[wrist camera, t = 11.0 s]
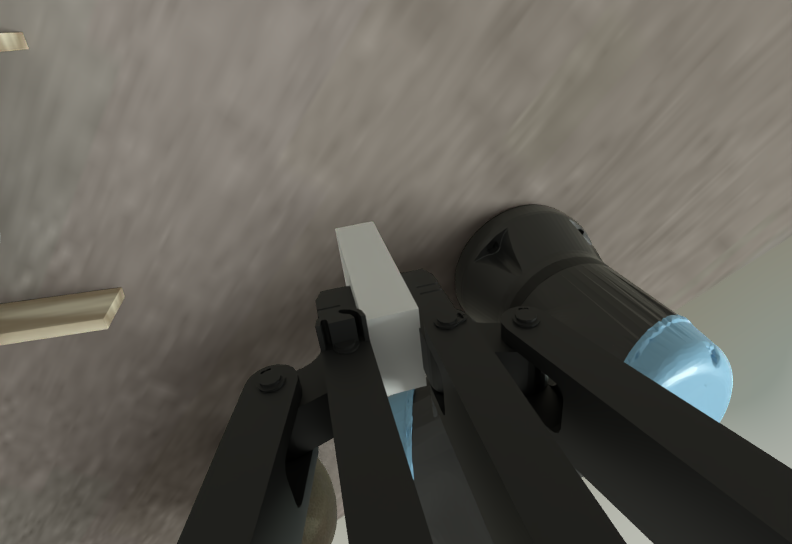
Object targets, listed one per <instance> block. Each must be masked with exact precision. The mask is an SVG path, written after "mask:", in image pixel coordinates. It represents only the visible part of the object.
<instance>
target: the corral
mask: <svg viewBox="0 0 792 544" xmlns="http://www.w3.org/2000/svg"><path fill="white" fill-rule="evenodd" d="M24 49H29V48H28V46H27V43H26V40H25V38H24V35H23V33H22V32H20V33H0V52H4V51H14V50H24ZM124 298H125V296H124V293H123V290H122V288H121V287H120V288H113V289H106V290H98V291H91V292H84V293H77V294H69V295H62V296H55V297H48V298H40V299H33V300H26V301H19V302H11V303H4V304H0V345H6V344H13V343H19V342H26V341H32V340H39V339H45V338H52V337H58V336H65V335H71V334H78V333H84V332H91V331H97V330H104V329H108V328H109V326H110V324H111V322H112V320H113V318H114V316H115V315H116V313H117V311H118V309H119V307H120V305H121V303H122V302H123V300H124Z"/></svg>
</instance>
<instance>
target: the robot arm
mask: <svg viewBox="0 0 792 544" xmlns="http://www.w3.org/2000/svg"><path fill="white" fill-rule="evenodd" d="M335 231H336V236H337V241H338V247H339V252H340V257H341V262H342V267H343V273H344V278H345V283H346V286H345V287H341V288H336V289H331V290H326V291H322V292H320V294H319V296H318V298H317V299H316V307H317V313H318V320H317V321H316V325H315V328H316V332H317V336H318V340H319V344H320V348H321V352H320V354H319V356H318V357H317V358H316V359H315V360H314V361H313V362H312V363H311V364H309V365H307V366H305V367H304V368H302V369H299V370H297V371H296V370H295V369H294V368H293V367H290V366H288V365H279V364H277V365H273V366H268V367H266V368H263V369H261V370H259V371H257V372H256V373H255V374H254V375H252V376H251V377H250V378H249V380H248V381H247V383H246V384H245V386H244V388H243V391H242V393H241V395H240V398H239V400H238V402H237V405H236V407H235V409H234V412H233V414H232V416H231V419H230V421H229V423H228V426H227V428H226V430H225V433H224V435H223V437H222V440H221V442H220V444H219V447H218V449H217V451H216V454H215V456H214V458H213V461H212V463H211V465H210V468H209V470H208V472H207V475H206V477H205V479H204V482H203V484H202V486H201V489H200V491H199V493H198V496H197V498H196V500H195V503H194V505H193V507H192V510H191V512H190V514H189V517H188V519H187V521H186V524H185V526H184V528H183V531H182V533H181V535H180V538H179V540H178V542H177V544H301V543H302V537H303V532H304V527H305V521H306V516H307V511H308V506H309V500H310V495H311V490H312V484H313V479H314V474H315V468H316V463H317V458H318V446H320V445H322V444H323V443H325V442H327V441H329V440H330V439H332V438H334V443H335V450H336V457H337V464H338V471H339V478H340V485H341V492H342V499H343V506H344V513H345V520H346V527H347V534H348V541H349V544H626V542H625V541H624V540H623V538H622V536H621V535H620V534H619V532H618V531H617V529H616V528H615V527H614V525H613V524H612V522H611V520H610V519H609V518H608V516H607V515H606V513H605V512H604V510H603V509H602V507H601V506H600V505H599V503H598V502H597V500H596V499H595V497H594V496H593V494H592V493H591V492H590V490H589V489H588V487H587V486H586V484H585V483H584V482H583V480H582V479H581V477H583V476H584V477H585V478H586V479H587V480H588V481H589V482H590V483H591V484H592V485H593V486H594V487H595V488H596V489H597V490H598V491H599V492H601V493H602V494H603V495H604V496H605V497H606V498H607V499H608V500H609V501H610V502H611V503H612V504H613V505H614V506H615V507H616V508H617V509H618V510H619V511H620V512H621V513H622V514H623V515H625V516H626V517H627V518H628V519H629V520H630V521H631V522H632V523H633V524H634V525H635V526H636V527H637V528H638V529H639V530H640V531H641V532H642V533H643V534H644V535H645V536H646V537H648V539H649V540H651V541H652V542H653V543H654V544H792V469H791V468H789V467H788V466H786V465H785V464H783V463H782V462H780V461H778V460H777V459H775V458H774V457H772V456H771V455H769V454H767V453H766V452H764V451H763V450H761V449H760V448H758V447H756V446H755V445H753V444H752V443H750V442H749V441H747V440H745V439H744V438H742V437H741V436H739V435H737V434H736V433H735V432H733V431H731V430H730V429H728V428H727V427H725V426H723V425H722V424H720V421H721V419H722V418H723V416H724V414H725V412H726V409H727V407H728V404H729V401H730V398H731V393H732V387H733V375H732V370H731V366H730V363H729V361H728V359H727V357H726V356H725V354H724V353H723V352H722V350H721V349H720V348H719V347H718V346H716V345H715V344H714V343H713V342H712V341H711V340H709V339H708V338H707V337H706V336H704V334H702V333H701V332H700V331H699V330H698V329H696V328H695V327H694V326H693V325H692V324H691V322H690V321H689V320H688V319H687V318H685V317H683V316H680V315H677V314H676V313H675V312H673V311H672V310H670V309H669V308H667V307H666V306H664V305H663V304H662V303H660V302H659V301H657V300H656V299H654V298H653V297H652V296H650V295H649V294H647V293H646V292H644V291H643V290H642V289H640V288H639V287H637V286H636V285H634V284H633V283H631V282H630V281H629V280H627V279H626V278H624V277H623V276H621V275H620V274H619V273H617V272H616V271H614V270H613V269H611V268H610V267H609V266H607V265H606V264H604V263H603V261H602V260H601V258H600V256H599V254H598V253H597V251H596V249H595V248H594V247H593V245H592V244H591V241H590V239H589V237H588V235H587V233H586V232H585V230H584V229H583V228H582V227H581V226H580V225H579V224H578V223H577V222H576V221H575V220H573V219H572V218H570V217H569V216H567V215H566V214H564V213H563V212H561V211H559V210H557V209H555V208H552V207H549V206H544V205H526V206H521V207H517V208H513V209H511V210H508V211H506V212H503V213H501V214H500V215H498V216H496V217H494V218H493V219H491V220H490V221H489V222H487V223H486V224H485V225H484V226H482V227H481V228H480V229H479V230H478V231H477V232H476V233H475V234H474V236H473V237H472V238H471V239H470V241H469V242H468V244H467V245H466V247H465V248H464V250H463V252H462V254H461V256H460V259H459V261H458V264H457V268H456V273H455V291H456V295H457V299H458V301H459V303H460V305H461V307H462V308H463V310H464V311H465V312H463V311H460V310H457V309H455V308H454V306H453V305H452V303H451V302H450V300H449V299H448V297H447V296H446V294H445V293H444V291H443V290H442V288H441V287H440V285H439V284H438V282H437V280H436V279H435V277H434V276H433V274H431V273H429V272H427V271H425V270H423V269H420V270H415V271H410V272H406V273H401V274H400V272H399V270H398V268H397V266H396V264H395V262H394V261H393V259H392V257H391V255H390V253H389V251H388V249H387V247H386V245H385V243H384V241H383V240H382V238H381V236H380V234H379V232H378V230H377V228H376V226H375V224H374V222H373V221H372V222H366V223H361V224H356V225H351V226H346V227H341V228H336V229H335ZM425 373H426V375H427V377H426V375H425ZM392 394H393V395H392ZM388 395H391V396H389V397H387V396H388Z"/></svg>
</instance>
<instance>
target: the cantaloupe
mask: <svg viewBox="0 0 792 544" xmlns="http://www.w3.org/2000/svg"><path fill="white" fill-rule="evenodd" d="M336 524H337V506H336V497H335V493H334V489H333V485H332V482H331V479H330V477H329V474H328V473H327V471H326V469H325V467H324V466H323V464H322V463H321V462H320V460H319V459H318V458H317V463H316V468H315V474H314V479H313V484H312V490H311V495H310V500H309V506H308V511H307V516H306V521H305V527H304V532H303V537H302V543H301V544H331V543H332V540H333V537H334V534H335V530H336Z"/></svg>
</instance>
